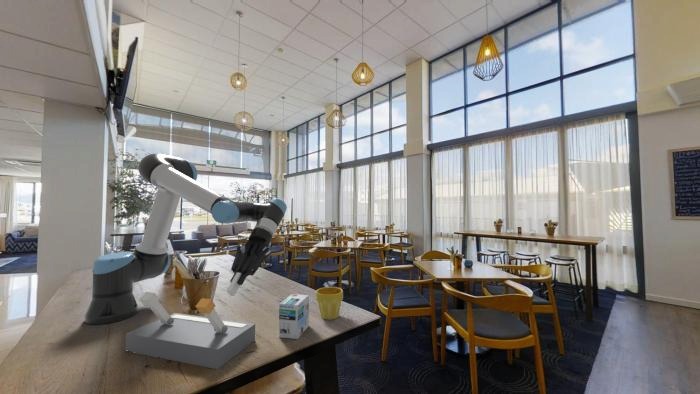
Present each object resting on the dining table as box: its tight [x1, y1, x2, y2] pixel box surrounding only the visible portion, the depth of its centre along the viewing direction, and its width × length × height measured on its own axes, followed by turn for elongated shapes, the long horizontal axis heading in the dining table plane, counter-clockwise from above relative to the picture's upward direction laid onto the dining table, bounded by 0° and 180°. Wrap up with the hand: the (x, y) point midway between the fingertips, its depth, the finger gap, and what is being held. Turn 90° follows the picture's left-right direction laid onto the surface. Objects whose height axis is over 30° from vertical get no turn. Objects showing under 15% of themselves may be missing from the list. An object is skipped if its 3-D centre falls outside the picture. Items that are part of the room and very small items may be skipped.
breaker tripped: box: [195, 297, 228, 333], centre depth 77 cm, size 3×3×13 cm
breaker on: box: [138, 291, 174, 324], centre depth 83 cm, size 3×3×13 cm
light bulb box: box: [278, 293, 310, 340], centre depth 92 cm, size 11×7×11 cm, turn 168°
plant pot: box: [315, 286, 344, 320], centre depth 105 cm, size 10×10×10 cm
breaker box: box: [125, 312, 256, 370], centre depth 83 cm, size 32×16×5 cm, turn 74°
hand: (230, 293), depth 84 cm, fingers closed
